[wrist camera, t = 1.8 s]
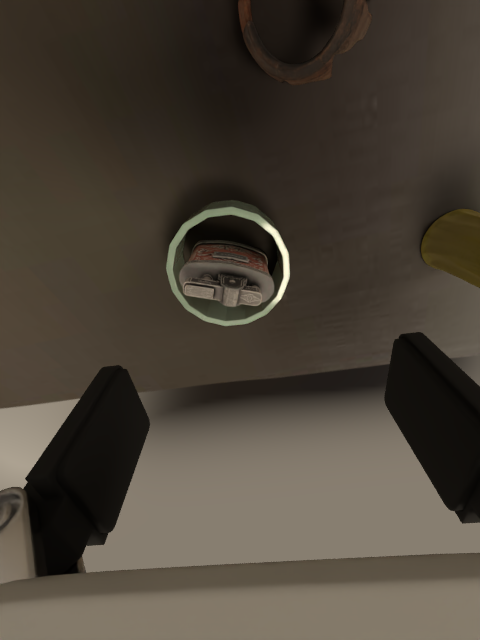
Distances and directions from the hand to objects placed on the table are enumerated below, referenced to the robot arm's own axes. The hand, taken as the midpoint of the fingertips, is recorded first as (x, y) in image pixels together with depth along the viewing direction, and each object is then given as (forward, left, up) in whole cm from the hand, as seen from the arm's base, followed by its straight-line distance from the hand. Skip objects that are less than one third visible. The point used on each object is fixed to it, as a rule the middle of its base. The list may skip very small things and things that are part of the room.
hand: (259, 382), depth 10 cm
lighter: (-2, -2, -22) cm, 22 cm away
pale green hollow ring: (-2, -2, -21) cm, 22 cm away
